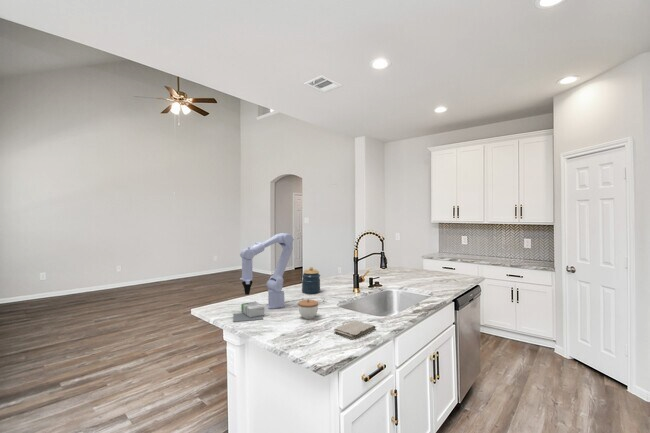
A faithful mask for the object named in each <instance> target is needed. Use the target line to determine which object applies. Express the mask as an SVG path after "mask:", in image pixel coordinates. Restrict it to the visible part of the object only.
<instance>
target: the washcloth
mask: <svg viewBox="0 0 650 433" xmlns="http://www.w3.org/2000/svg"><path fill="white" fill-rule="evenodd" d="M375 330H376V325H374V324H370V323H366V322H365V323H364V322H361V321H358V320H354V321H351V322H349V323H345V324H343V325H341V326H338V327H335V328H334V334H336V335H337V336H340V337H343V338H345V339H348V340H356V339H359V338H361V337H363V336H365V335H367V334H369V332H370V333H371V331H372V332H374V331H375Z"/></svg>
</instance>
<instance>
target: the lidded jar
mask: <svg viewBox="0 0 650 433" xmlns="http://www.w3.org/2000/svg"><path fill="white" fill-rule="evenodd" d="M297 304H298V307H297V308H298V312H299V315H300V316H301V317H302V318H303V319H306V320H310V319H311V320H312V319H314V318H315V316H317V314H318V310H319V302H318V301H317V300H314V299H310V298H309V299H303V300H300V301H298V303H297Z"/></svg>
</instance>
